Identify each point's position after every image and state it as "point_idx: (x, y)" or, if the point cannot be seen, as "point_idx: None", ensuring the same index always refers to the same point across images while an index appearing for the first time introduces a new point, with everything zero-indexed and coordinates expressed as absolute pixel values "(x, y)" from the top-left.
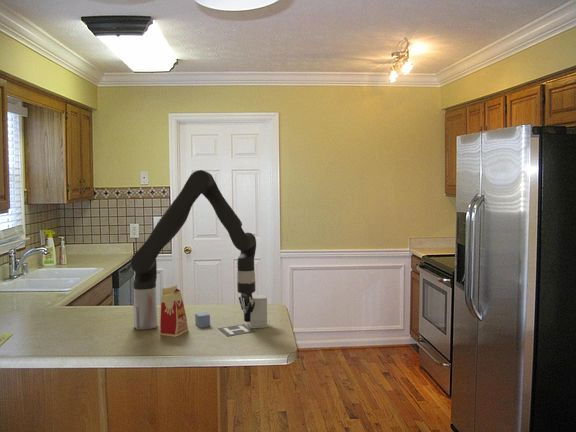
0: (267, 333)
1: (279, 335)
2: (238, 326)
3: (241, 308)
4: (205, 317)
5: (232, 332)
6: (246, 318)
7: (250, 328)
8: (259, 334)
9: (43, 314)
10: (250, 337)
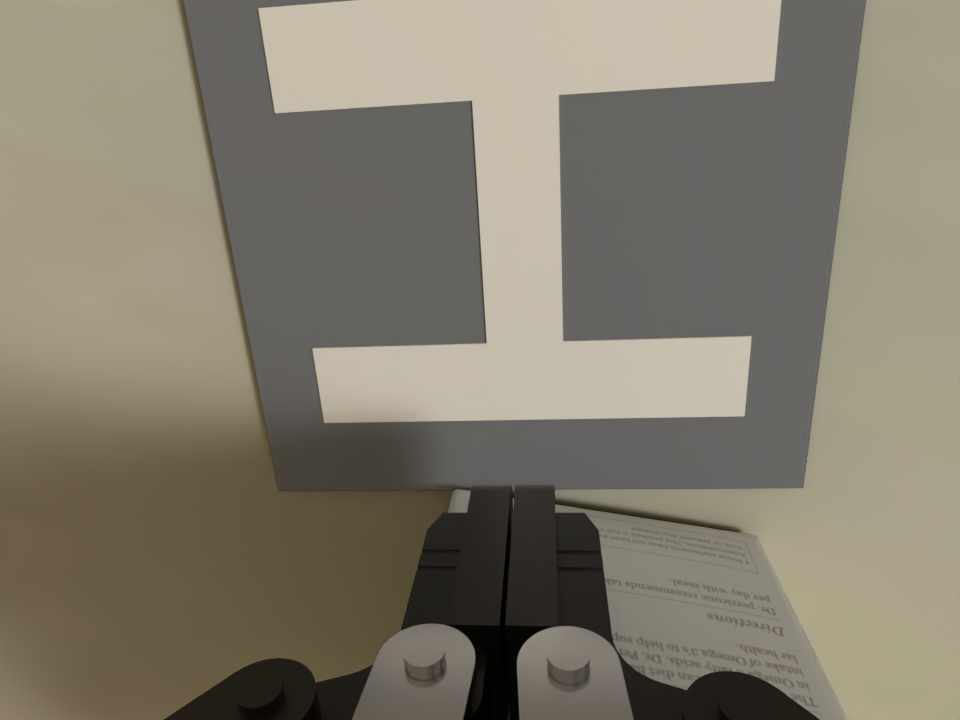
0: (147, 605)
1: (17, 689)
2: (716, 344)
3: (757, 707)
4: None
5: (370, 94)
6: (445, 549)
7: None
8: (130, 497)
9: None
10: (7, 321)
